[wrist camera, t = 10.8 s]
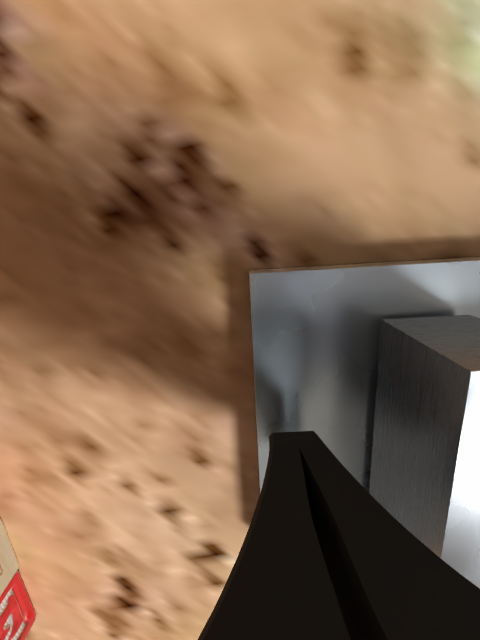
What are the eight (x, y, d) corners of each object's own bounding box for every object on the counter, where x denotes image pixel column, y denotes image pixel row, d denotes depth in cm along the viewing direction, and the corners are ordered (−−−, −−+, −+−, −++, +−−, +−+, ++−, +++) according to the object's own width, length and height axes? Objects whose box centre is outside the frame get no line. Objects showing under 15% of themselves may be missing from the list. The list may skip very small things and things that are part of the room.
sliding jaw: (468, 314, 9) (616, 364, 5) (436, 529, 11) (526, 664, 7) (381, 319, 9) (471, 371, 5) (366, 532, 11) (423, 666, 7)
